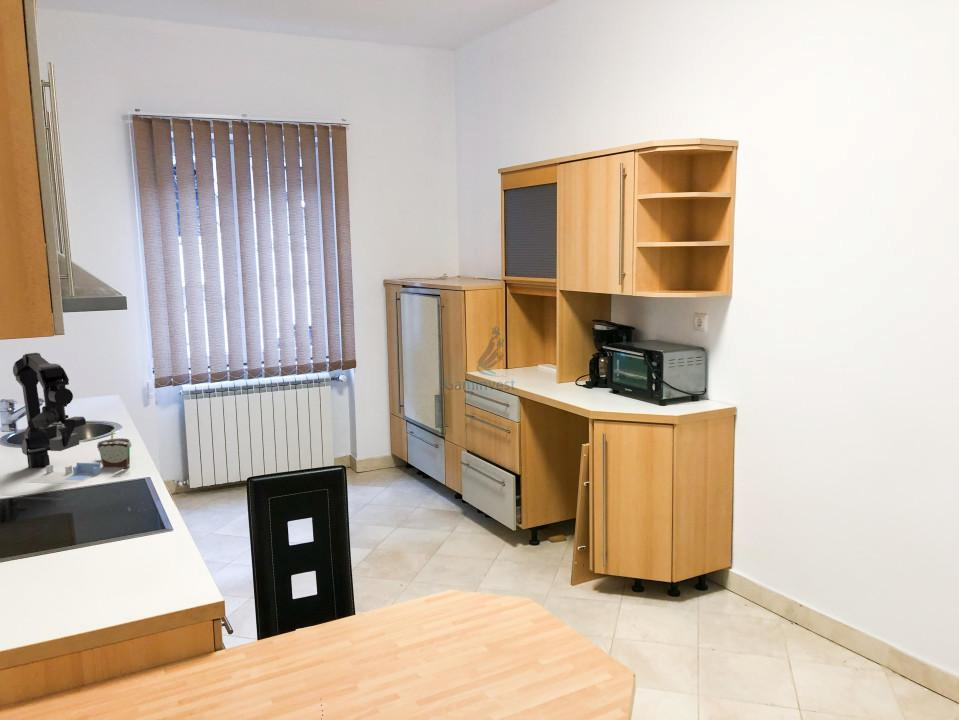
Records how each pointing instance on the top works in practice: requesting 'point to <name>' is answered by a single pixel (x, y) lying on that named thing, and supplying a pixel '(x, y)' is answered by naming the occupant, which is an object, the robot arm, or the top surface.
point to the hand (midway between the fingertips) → (59, 446)
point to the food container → (115, 452)
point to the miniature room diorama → (69, 474)
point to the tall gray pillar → (57, 442)
